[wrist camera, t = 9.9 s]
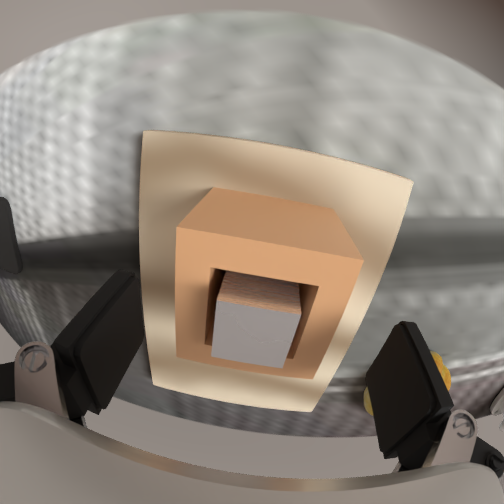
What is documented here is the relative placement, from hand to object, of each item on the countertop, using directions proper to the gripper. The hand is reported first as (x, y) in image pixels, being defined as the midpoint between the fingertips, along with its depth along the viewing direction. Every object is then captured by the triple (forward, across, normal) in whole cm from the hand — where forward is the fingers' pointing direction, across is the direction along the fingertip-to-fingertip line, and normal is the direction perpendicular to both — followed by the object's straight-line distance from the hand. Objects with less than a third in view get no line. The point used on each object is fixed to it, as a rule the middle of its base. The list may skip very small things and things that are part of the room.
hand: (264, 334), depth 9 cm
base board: (+7, 0, +4) cm, 8 cm away
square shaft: (+6, 0, 0) cm, 6 cm away
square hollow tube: (+6, 0, 0) cm, 6 cm away
